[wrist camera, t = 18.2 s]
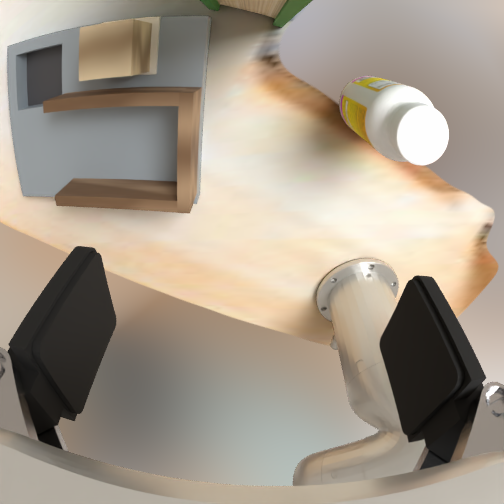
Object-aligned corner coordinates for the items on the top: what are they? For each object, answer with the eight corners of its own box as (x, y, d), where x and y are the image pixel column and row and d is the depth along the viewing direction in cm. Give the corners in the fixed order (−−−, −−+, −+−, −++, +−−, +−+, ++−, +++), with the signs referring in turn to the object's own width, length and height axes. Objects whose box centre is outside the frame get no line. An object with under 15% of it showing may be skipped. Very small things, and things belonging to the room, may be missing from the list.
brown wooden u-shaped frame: (196, 192, 33) (189, 213, 30) (74, 187, 32) (56, 205, 29) (201, 87, 27) (193, 92, 23) (65, 93, 26) (42, 101, 22)
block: (149, 71, 25) (131, 76, 21) (103, 75, 25) (79, 81, 21) (152, 23, 22) (133, 19, 18) (104, 28, 22) (79, 27, 18)
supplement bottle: (369, 144, 32) (421, 194, 22) (325, 108, 30) (364, 141, 20) (405, 102, 29) (472, 135, 18) (362, 62, 27) (421, 73, 16)
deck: (199, 194, 36) (196, 205, 34) (32, 188, 35) (21, 197, 32) (211, 18, 24) (207, 15, 22) (19, 44, 23) (5, 46, 21)
